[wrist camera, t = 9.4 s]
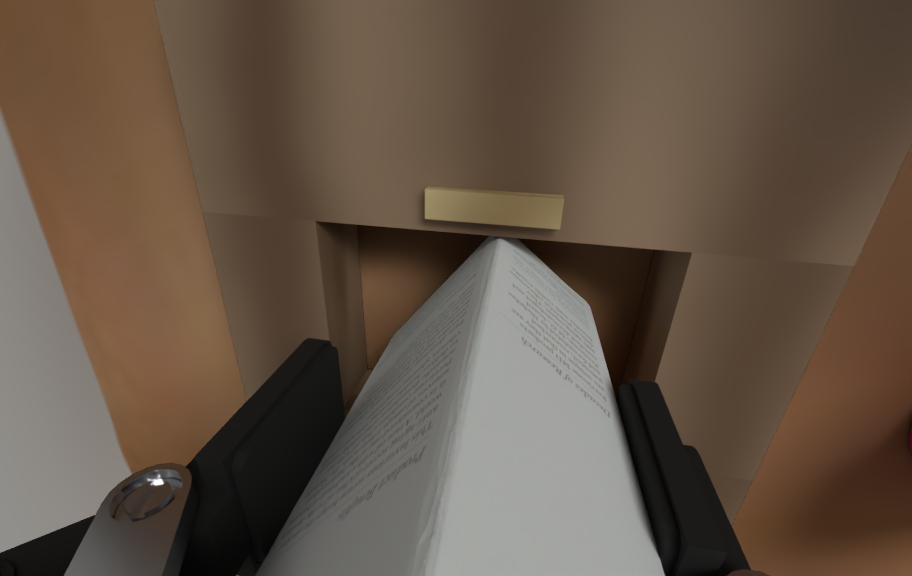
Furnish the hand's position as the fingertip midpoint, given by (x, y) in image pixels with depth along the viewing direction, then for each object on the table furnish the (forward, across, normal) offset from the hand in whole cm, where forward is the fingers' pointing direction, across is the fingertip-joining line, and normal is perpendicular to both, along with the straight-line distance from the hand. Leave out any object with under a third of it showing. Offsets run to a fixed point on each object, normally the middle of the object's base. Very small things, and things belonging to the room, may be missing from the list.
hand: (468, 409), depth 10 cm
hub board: (+6, 0, 0) cm, 6 cm away
